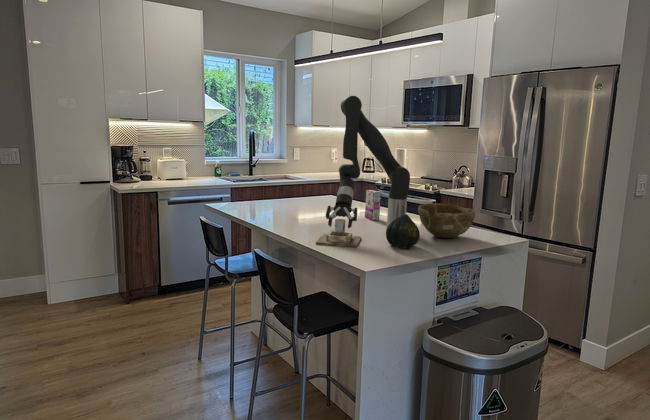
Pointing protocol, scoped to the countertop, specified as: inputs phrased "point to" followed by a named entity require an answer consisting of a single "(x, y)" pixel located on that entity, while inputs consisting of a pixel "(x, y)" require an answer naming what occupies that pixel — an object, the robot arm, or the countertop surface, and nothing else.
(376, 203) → the candy bar box
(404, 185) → the robot arm
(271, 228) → the countertop surface
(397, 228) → the squash
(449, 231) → the bowl
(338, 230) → the steel cylinder
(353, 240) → the socket board
